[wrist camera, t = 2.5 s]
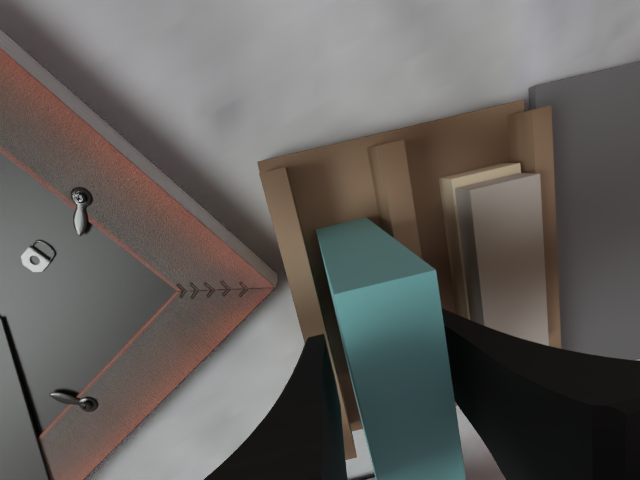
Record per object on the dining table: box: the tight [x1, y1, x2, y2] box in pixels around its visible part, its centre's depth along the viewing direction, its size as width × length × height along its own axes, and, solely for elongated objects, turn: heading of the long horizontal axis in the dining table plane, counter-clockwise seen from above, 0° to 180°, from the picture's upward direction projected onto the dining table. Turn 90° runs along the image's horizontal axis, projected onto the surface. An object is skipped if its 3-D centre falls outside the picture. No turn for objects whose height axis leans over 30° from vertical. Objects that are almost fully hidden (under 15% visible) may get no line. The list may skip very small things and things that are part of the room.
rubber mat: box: [529, 62, 640, 360], centre depth 16 cm, size 16×10×1 cm, turn 13°
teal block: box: [316, 218, 466, 480], centre depth 12 cm, size 8×2×8 cm, turn 13°
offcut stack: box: [439, 163, 549, 346], centre depth 14 cm, size 10×3×2 cm, turn 13°
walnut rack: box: [257, 100, 561, 460], centre depth 15 cm, size 15×12×3 cm
